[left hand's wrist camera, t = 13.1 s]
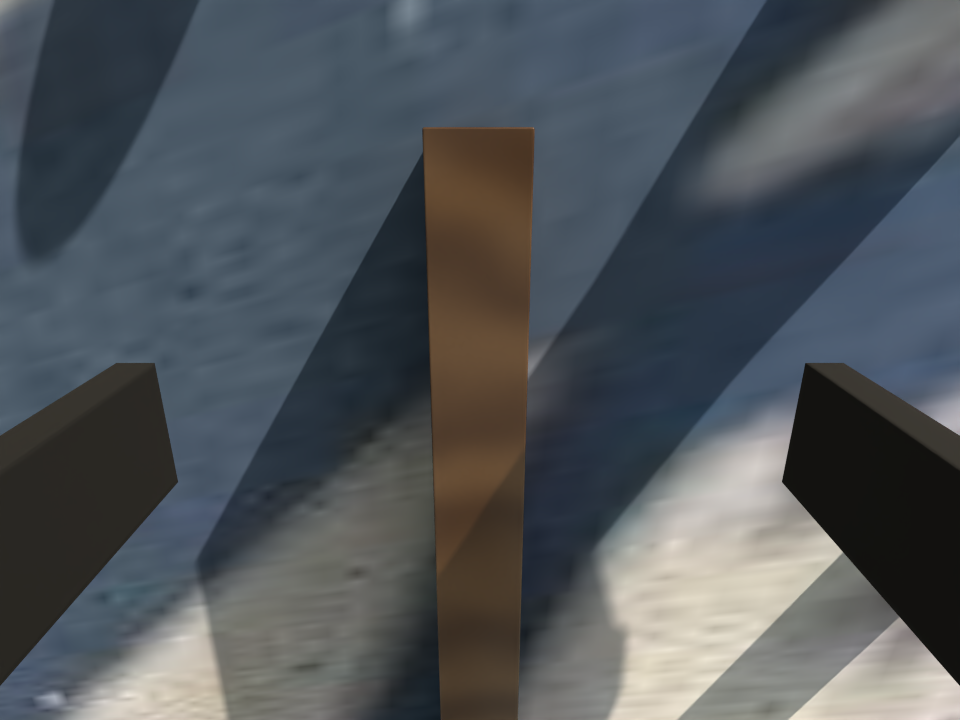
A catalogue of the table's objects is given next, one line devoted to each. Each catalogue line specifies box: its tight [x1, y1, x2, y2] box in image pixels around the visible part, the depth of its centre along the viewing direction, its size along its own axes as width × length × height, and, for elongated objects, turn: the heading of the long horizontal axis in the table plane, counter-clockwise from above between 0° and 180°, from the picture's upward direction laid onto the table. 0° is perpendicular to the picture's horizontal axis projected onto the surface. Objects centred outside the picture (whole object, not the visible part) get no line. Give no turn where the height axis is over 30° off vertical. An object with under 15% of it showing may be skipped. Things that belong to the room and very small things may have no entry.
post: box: [422, 127, 534, 720], centre depth 41 cm, size 57×5×8 cm, turn 0°
